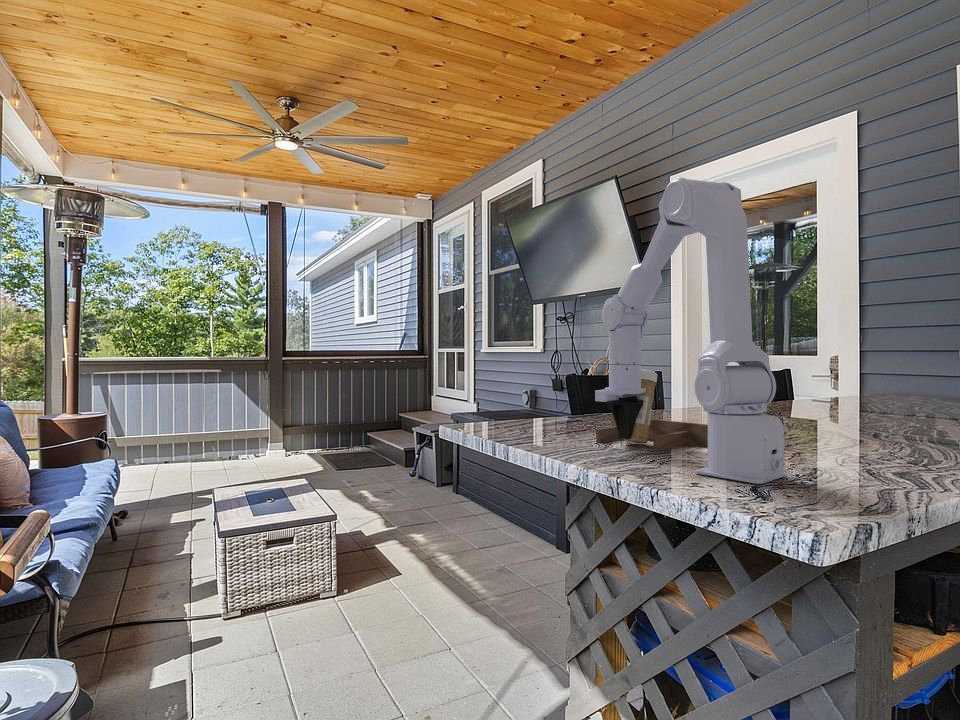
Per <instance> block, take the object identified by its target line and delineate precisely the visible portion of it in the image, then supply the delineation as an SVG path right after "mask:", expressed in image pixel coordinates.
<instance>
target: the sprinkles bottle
mask: <svg viewBox="0 0 960 720" xmlns="http://www.w3.org/2000/svg"><path fill="white" fill-rule="evenodd" d="M657 381H658V373H657V372H655V371H651V370H649V369H641V388H646V392H644V393H640V394H639V395H635V396H637V399H639V400H644V405H643V406H642V408H641V410H640V412H639V414H638V416H637V418H636V421H635V425H634V429H633V433H632V437H631V439H623V440H624V441H627V442H631V443H637V444H643V445H644V444H645V445H646V444H648V441H649V439H648V431H649V426H650V420H651V419H652V418H651V417H652V413H653V412H652V411H653V409H652V408H653V402H654V397H655V388H656V387H655V386H656V384H657ZM629 395H633V394H629Z"/></svg>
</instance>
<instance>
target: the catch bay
mask: <svg viewBox="0 0 960 720" xmlns="http://www.w3.org/2000/svg"><path fill="white" fill-rule="evenodd" d="M595 434H596V435H595V436H596V437H595V439H596V441H595V442H596V443H599V444H601V443H606V442H607V443H608V442H611V441H617V440H623V439H622V438H619V434H618V430H617V426H616V423H615V420H614V417H613V415H611V426H610V427H602V428H597V429H595ZM647 440H648V441H649V440H650V441H653V442H652V443H653V445H652V447H653V452H661V451H665V450H670V449H671V450H672V449H675V448H680V447H685V446H695V447H704V448H708V423H707V424H705V423H696V422H687V421H678V420H677V421H675V420H667V419H666V420H665V419H655V418H651V420H650V426H649V431H648V439H647Z"/></svg>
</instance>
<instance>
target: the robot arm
mask: <svg viewBox="0 0 960 720" xmlns="http://www.w3.org/2000/svg"><path fill="white" fill-rule="evenodd" d="M658 203H659V204H658V210H659V211H658V212H659V217H660V219H659V222H658V224H657V227H656V229H655V231H654V234H653V236H652V237H651V241H650V243H649V245H648V248H647V249H646V252H645V254H644V257H643V260H641V262H640V263H638V264H635V265H632V266H631V268H630V270H629V272H628V274H627V276H626V278H625V279H624V281H623V284H622V285H621V287H620V288H619V291H618V293H615V294H613V296H612V297H609V298H607V299H606V300H605V301H604V305H603V307H602V310H601V320H602V323H603V324H602V325H603V326H604V328H605V329H607V330H608V386H607V387H605V388H603V389H598V390H594V392H595V393H594V401H595V402H601V403H602V402H603V403H606V405H607V408H608V409H609V410H610V412H611V414H612V415H613V417H614V420H615V423H616V426H617V430H618V434H619V438H622V439H621V440H624V439H631V437H632V433H633V429H634V425H635V421H636V418H637V416H638V414H639V412H640V410H641V408H642V406H643V405H644V400H639V399H637V396H635V395H639V394H640V393H644V392H646V388H641V370H642V339H643V338H644V336H645V334H644V333H645V328H646V325H647V323H648V320H649V313H647V308H648V307H649V305H650V304H651V302H652V300H653V298H654V297H655V295H656V293H657V292H658V290H659V289H660V286H661V285H662V282H663V277H662V273H661V272H662V270H663V268H664V267H665V266H666V264H667V262H668V261H669V260H670V259H671V257H672V255H673V254H674V252H675V251H676V250H677V248H678V246H680V244H681V242H682V241H683V239H684V238H685V237H686V236H690V235H693V234H696V233H699V234H701V235H702V236H704V237H705V246H706V247H705V248H706V269H707V270H706V273H707V292H708V293H707V294H708V295H707V296H708V313H709V314H708V315H709V337H710V338H709V340H710V341H709V342H710V344H709V345H708V347H707V348H706V349H705V350H704V351H703V353H701V354H700V355H699V357H698V358H697V371H696V372H697V373H696V377H695V380H694V393H695V397H696V399H697V402H698V403H699V404H700V406H701V407H703V408H702V410H703V412H706V413H707V424H708V447H707V466H705V467H701V468H697V469H695V470H694V471H695V474H699V475H704V476H711V477H716V478H721V479H725V480H727V479H728V480H732V481H738V482H744V483H751V484H754V485H755V484H757V485H762V484H766V483H768V482H772V481H775V480H778V479H780V478H783V477H787V475H788V473H787V472H785V429H784V425H783V422H782V420H781V419H780V418H779V417H778V416H776V415H770V414H769V415H768V414H765V413H766V412H768V411H767V410H768V408H767V407H768V405H769V404H771V402H772V401H773V400H774V399H775V396H776V391H777V382H776V378H775V376H774V373H773V372H772V369H771V365H770V355H768V354H767V353H766V352H765V351H764V350H762V349H761V348H760V347H759V346H758V345H756V344H755V343H754V342H753V325H752V323H753V322H752V305H751V304H752V303H751V284H750V261H749V241H748V238H749V237H748V221H747V215H746V213H745V211H744V208H743V205H742V191H741V188H739V187H737V186H735V185H733V184H731V183H729V182H725V181H724V182H715V181H707V180H698V179H689V178H685V177H681V176H680V177H675V178H673V179H672V180H671V181H670V182H669V183H668V184H667V186H666V187H665V190H664V191H663V195H662V198H661V199H660V201H659V202H658ZM730 363H736V364H738V365H729V364H730ZM630 394H633V395H630ZM612 415H611V416H612Z"/></svg>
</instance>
